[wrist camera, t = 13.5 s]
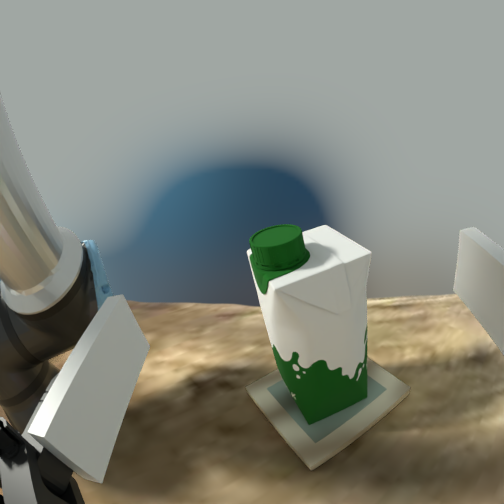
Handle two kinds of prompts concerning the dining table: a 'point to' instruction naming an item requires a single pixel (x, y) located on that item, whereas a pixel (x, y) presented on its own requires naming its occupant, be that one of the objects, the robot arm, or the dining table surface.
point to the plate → (333, 427)
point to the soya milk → (314, 313)
